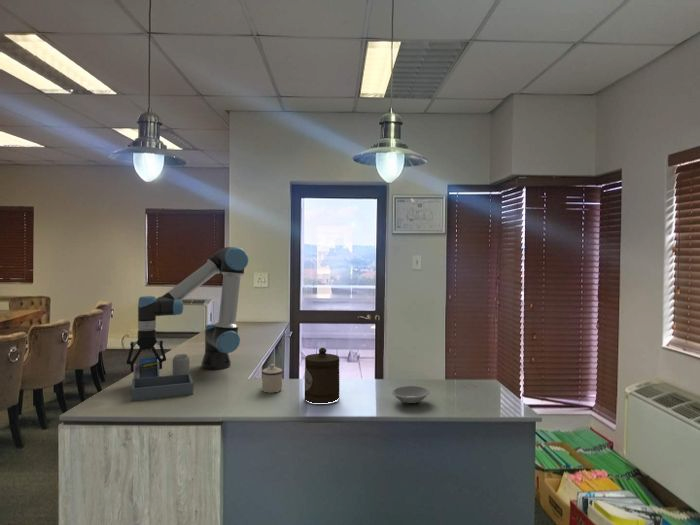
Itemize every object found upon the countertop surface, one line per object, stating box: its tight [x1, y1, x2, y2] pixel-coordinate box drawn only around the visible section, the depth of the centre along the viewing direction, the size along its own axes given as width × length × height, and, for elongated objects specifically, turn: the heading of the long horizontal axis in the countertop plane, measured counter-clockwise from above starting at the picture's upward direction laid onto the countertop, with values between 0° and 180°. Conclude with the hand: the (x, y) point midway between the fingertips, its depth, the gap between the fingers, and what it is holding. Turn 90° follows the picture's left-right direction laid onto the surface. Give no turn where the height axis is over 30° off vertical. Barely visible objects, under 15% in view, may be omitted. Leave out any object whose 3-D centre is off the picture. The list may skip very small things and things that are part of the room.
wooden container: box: [304, 347, 340, 403], centre depth 185 cm, size 15×15×22 cm
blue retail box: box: [135, 355, 158, 379], centre depth 203 cm, size 9×4×12 cm, turn 145°
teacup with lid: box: [261, 363, 283, 393], centre depth 197 cm, size 12×9×12 cm
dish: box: [391, 385, 431, 404], centre depth 182 cm, size 18×14×5 cm
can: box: [172, 353, 190, 375], centre depth 209 cm, size 8×8×12 cm
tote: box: [130, 373, 194, 402], centre depth 190 cm, size 24×16×5 cm, turn 115°
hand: (146, 377), depth 203 cm, fingers closed on blue retail box, 9 cm apart
